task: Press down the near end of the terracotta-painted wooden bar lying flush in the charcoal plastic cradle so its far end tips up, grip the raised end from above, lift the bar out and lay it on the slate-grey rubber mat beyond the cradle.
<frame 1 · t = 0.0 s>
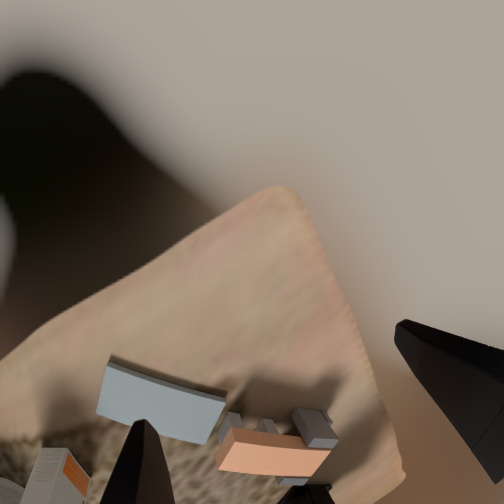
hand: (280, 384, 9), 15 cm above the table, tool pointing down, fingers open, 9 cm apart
skincare box: (67, 462, 24), on the table
glass holder: (3, 486, 22), on the table
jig: (263, 429, 28), on the table
mat: (158, 405, 25), on the table
bar: (271, 448, 25), point 3 cm above the table, touching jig
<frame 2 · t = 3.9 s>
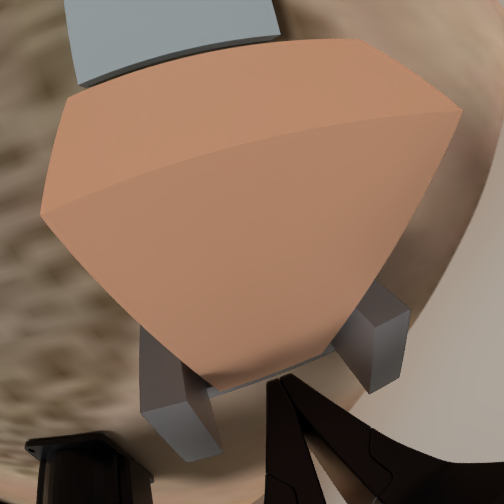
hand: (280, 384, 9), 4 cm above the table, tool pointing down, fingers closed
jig: (221, 219, 10), on the table
bar: (246, 260, 7), point 3 cm above the table, tilted 32°, touching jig
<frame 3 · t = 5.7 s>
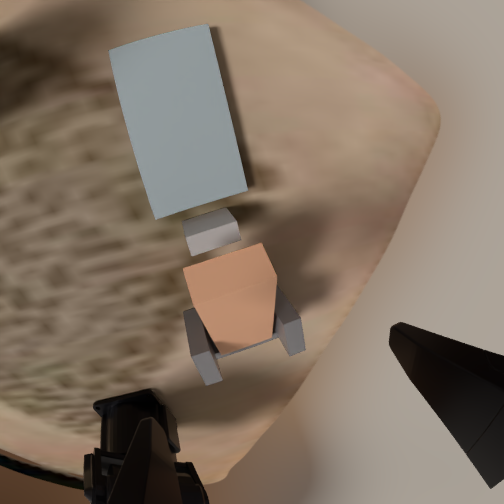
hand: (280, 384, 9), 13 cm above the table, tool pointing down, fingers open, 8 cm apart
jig: (221, 273, 22), on the table
mat: (177, 118, 17), on the table
bar: (231, 297, 19), point 3 cm above the table, tilted 32°, touching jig
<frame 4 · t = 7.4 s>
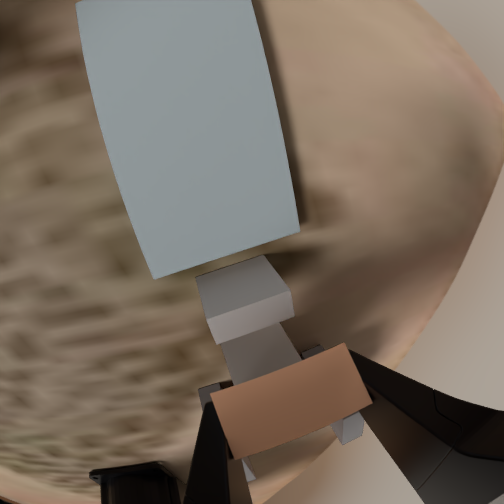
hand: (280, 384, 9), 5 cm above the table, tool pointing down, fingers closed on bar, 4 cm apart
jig: (252, 343, 15), on the table
mat: (187, 111, 10), on the table
bar: (273, 389, 12), point 3 cm above the table, tilted 32°, touching gripper, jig
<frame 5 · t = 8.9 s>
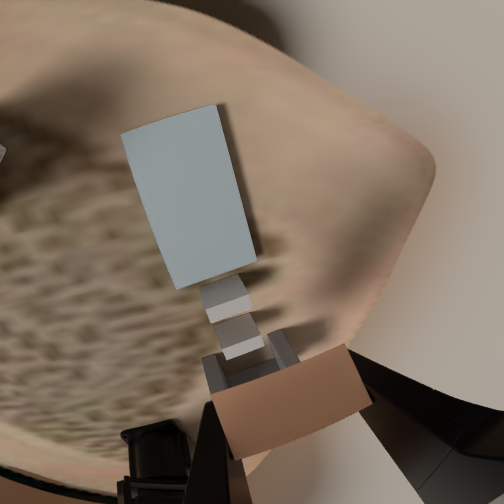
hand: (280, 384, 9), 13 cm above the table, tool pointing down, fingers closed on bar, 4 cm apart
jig: (234, 327, 24), on the table
mat: (191, 198, 20), on the table
bar: (273, 389, 12), point 11 cm above the table, tilted 33°, touching gripper
when the fingers open (8 cm above the table, at t = 10.4 s): bar drops 5 cm, resting on mat.
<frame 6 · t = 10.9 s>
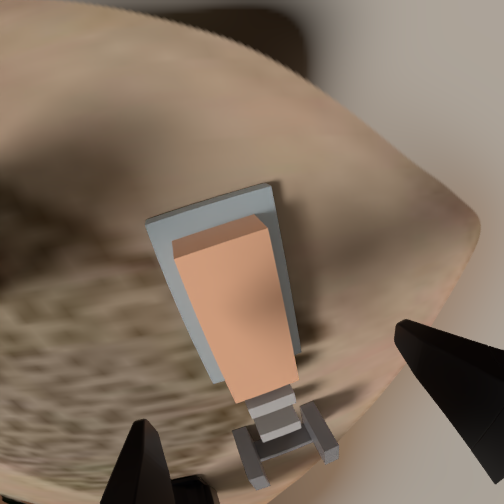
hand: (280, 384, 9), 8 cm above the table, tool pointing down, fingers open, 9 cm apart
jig: (268, 404, 22), on the table
mat: (233, 294, 17), on the table
bar: (239, 311, 16), point 1 cm above the table, touching mat
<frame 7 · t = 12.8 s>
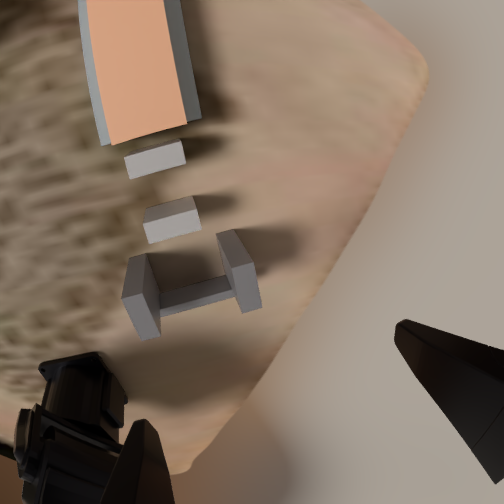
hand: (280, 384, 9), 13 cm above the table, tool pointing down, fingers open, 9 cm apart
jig: (172, 215, 19), on the table
mat: (135, 47, 14), on the table
bar: (134, 53, 13), point 1 cm above the table, touching mat
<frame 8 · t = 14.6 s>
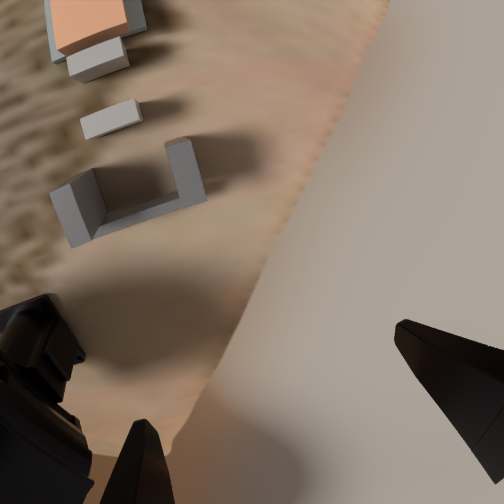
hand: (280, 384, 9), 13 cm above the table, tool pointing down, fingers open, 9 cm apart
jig: (118, 124, 16), on the table
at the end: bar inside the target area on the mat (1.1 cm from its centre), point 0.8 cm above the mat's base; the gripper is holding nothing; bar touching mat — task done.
